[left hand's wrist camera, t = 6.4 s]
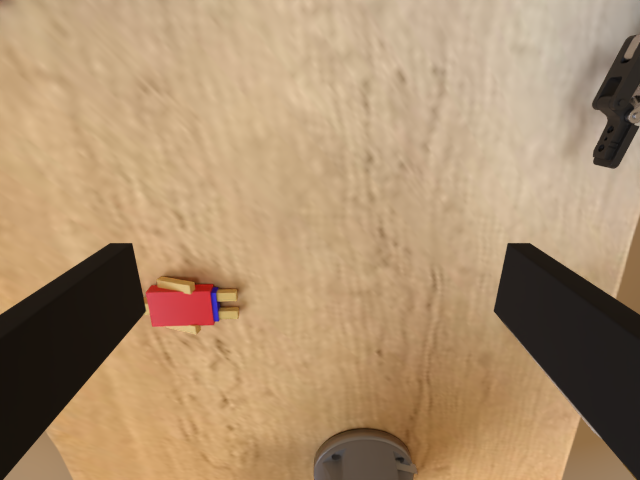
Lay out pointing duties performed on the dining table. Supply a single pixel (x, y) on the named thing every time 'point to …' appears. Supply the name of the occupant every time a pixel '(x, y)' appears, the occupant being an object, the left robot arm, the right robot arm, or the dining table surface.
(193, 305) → the toy figure
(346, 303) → the dining table surface
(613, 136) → the right robot arm
